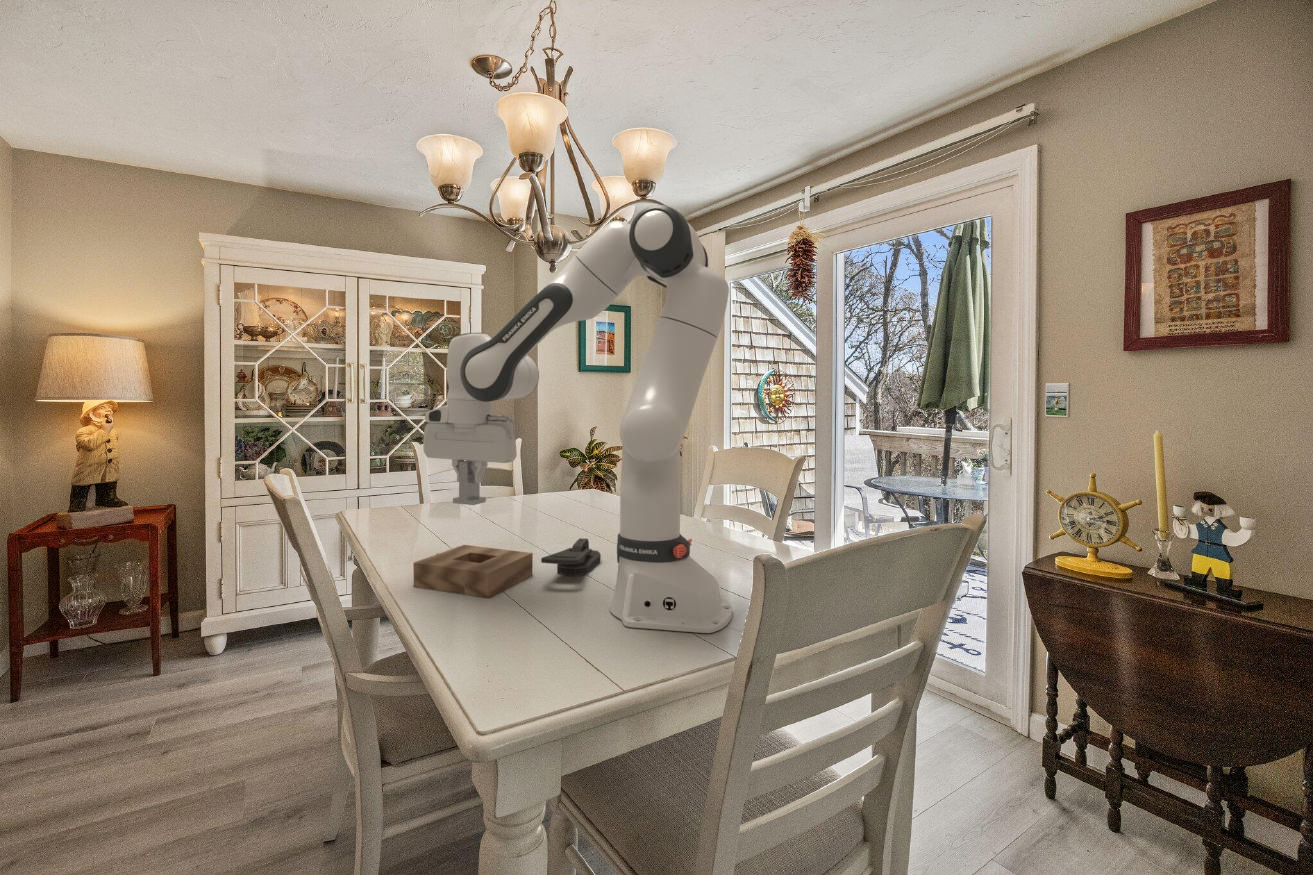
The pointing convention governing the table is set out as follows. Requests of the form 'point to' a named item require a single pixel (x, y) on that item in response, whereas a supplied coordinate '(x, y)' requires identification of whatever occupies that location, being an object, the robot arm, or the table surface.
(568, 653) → the table surface
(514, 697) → the table surface
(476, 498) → the steel bracket
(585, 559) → the zipper pull
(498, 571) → the walnut well
